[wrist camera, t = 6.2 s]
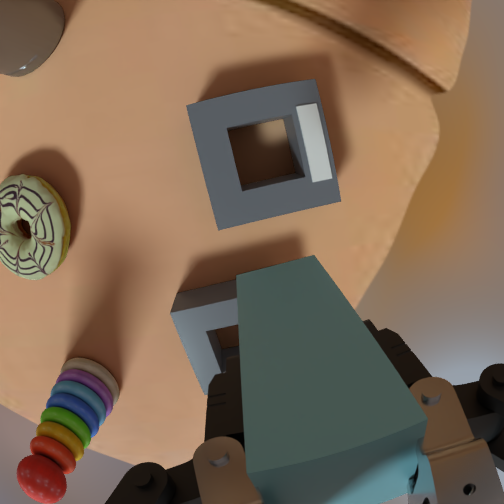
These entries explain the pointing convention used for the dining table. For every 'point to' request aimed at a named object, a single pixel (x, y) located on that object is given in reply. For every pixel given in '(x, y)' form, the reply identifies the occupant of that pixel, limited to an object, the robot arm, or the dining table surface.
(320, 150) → the near socket block
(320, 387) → the plug
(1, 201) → the decorated donut
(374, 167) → the dining table surface
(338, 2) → the dining table surface
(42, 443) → the stacking toy
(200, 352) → the far socket block
